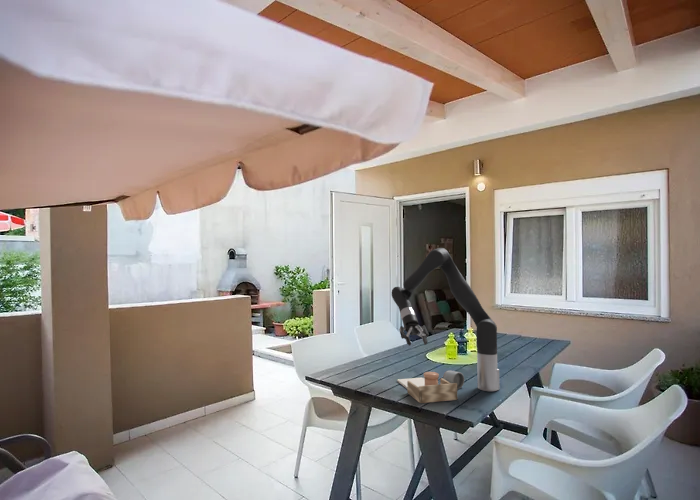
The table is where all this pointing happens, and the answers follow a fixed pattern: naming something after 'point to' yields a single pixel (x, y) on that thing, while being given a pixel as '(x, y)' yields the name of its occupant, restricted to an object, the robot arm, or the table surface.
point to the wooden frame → (433, 392)
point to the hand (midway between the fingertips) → (418, 344)
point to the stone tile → (415, 381)
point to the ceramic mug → (454, 378)
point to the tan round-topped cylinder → (431, 378)
